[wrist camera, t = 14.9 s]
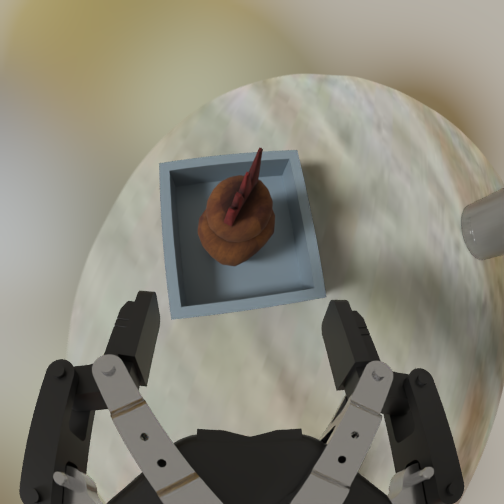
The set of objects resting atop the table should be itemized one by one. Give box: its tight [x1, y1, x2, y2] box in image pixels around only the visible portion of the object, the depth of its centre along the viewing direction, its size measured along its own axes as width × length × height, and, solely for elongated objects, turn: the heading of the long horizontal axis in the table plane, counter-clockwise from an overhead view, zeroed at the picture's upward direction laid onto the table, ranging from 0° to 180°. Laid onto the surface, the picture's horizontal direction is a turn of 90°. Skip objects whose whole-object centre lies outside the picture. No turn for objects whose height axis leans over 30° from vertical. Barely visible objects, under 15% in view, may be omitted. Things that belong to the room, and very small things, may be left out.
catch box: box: [159, 150, 326, 320], centre depth 28 cm, size 14×15×5 cm
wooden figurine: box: [198, 148, 275, 266], centre depth 22 cm, size 7×6×15 cm
